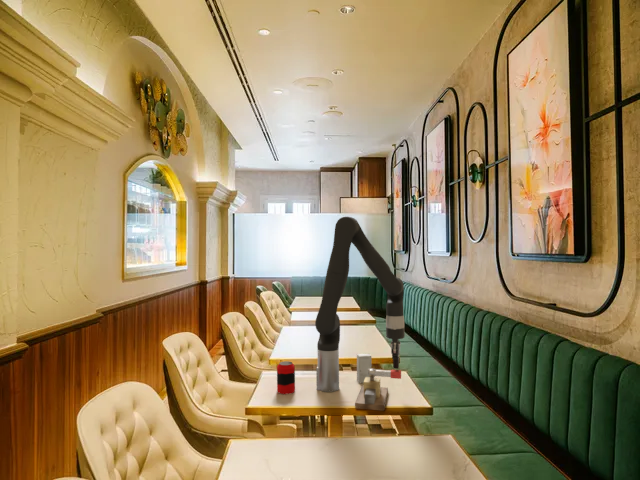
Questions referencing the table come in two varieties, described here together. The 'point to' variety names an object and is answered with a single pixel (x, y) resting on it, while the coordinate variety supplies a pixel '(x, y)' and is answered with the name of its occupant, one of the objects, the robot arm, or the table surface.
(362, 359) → the skincare box
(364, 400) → the valve stand
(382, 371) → the valve lever
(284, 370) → the soda can
